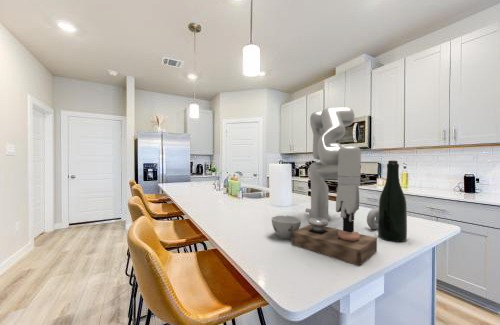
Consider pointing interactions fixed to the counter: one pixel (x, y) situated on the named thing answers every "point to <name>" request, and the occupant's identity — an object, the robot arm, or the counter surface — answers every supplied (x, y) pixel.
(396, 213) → the dark green wine bottle
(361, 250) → the block
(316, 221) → the button
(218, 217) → the counter surface
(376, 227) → the donut
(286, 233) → the teacup
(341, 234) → the button
